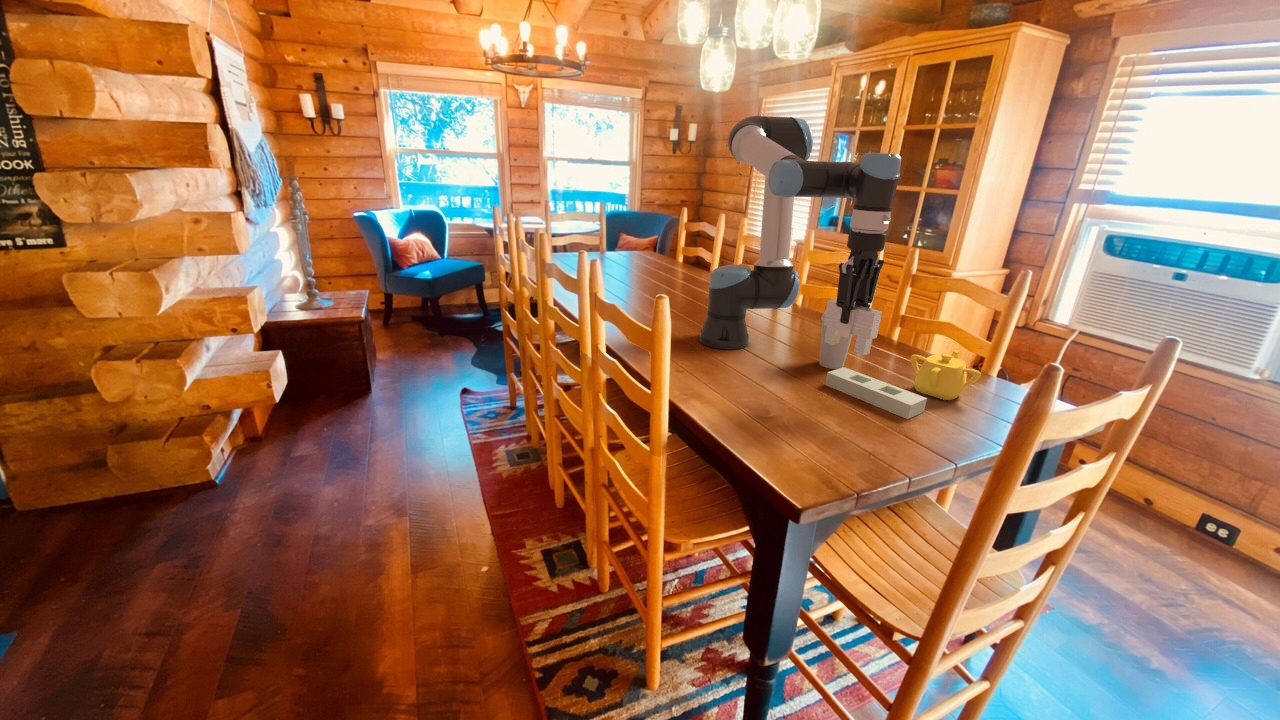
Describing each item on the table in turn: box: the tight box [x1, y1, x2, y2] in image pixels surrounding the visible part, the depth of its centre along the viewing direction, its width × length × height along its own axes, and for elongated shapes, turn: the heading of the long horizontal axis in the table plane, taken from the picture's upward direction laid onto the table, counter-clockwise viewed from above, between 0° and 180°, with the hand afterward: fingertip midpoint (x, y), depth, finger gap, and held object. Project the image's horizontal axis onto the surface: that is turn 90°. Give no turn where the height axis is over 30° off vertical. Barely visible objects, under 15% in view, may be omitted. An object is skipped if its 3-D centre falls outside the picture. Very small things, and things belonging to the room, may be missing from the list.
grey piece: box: [824, 298, 883, 356], centre depth 119 cm, size 12×3×10 cm, turn 35°
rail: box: [825, 366, 928, 420], centre depth 127 cm, size 22×7×4 cm, turn 35°
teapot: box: [910, 348, 982, 401], centre depth 131 cm, size 14×13×10 cm
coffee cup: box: [819, 310, 853, 370], centre depth 145 cm, size 10×10×15 cm
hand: (848, 335), depth 120 cm, fingers closed on grey piece, 3 cm apart
